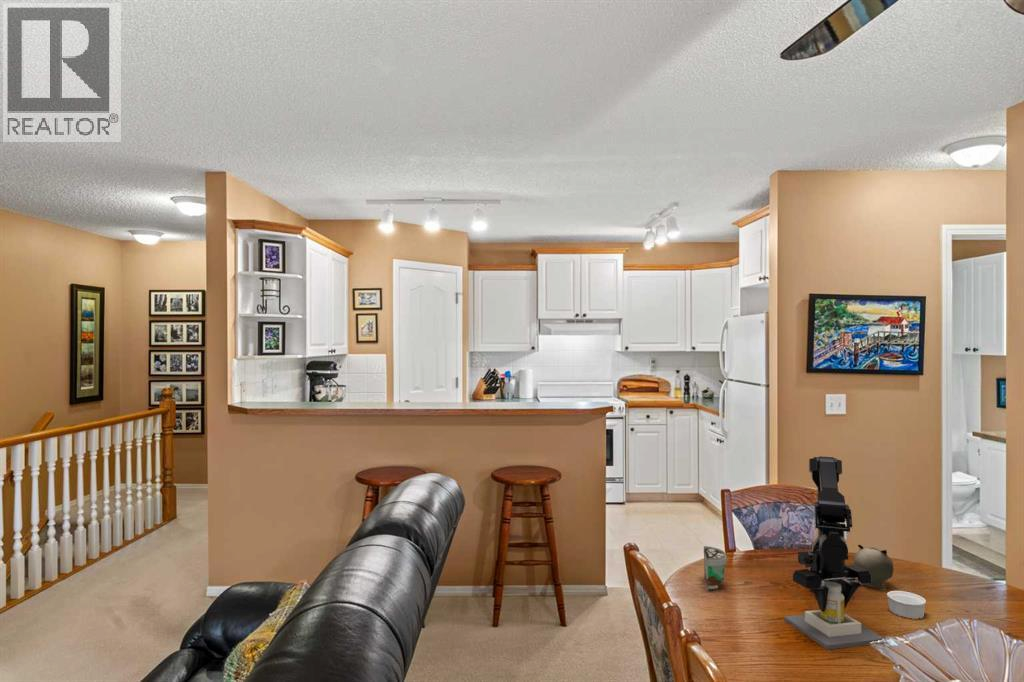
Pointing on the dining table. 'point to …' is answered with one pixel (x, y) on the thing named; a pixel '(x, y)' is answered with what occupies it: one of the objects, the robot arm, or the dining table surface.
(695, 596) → the dining table surface
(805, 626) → the bottle holder
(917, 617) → the ramekin
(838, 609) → the supplement bottle
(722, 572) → the food container
